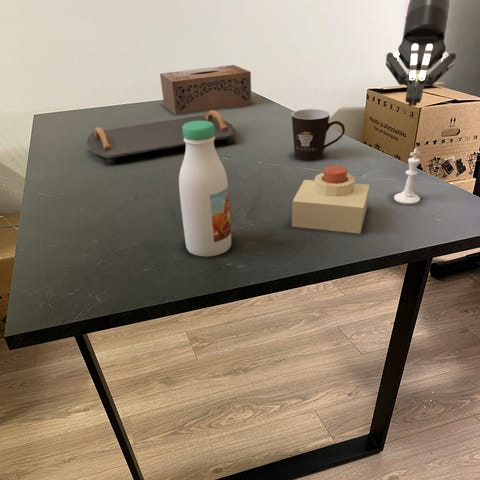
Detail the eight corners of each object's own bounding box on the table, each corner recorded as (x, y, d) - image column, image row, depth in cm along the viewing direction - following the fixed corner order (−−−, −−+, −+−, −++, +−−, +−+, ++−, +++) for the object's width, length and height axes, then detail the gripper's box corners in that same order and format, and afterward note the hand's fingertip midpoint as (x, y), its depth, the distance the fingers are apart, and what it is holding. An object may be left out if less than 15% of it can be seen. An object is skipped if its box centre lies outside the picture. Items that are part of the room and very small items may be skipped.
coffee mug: (282, 158, 113) (283, 114, 107) (306, 149, 117) (308, 107, 111) (320, 170, 106) (323, 123, 100) (344, 160, 110) (348, 115, 104)
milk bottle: (199, 263, 75) (186, 135, 63) (178, 244, 81) (162, 123, 68) (240, 249, 78) (235, 124, 66) (217, 232, 84) (208, 113, 71)
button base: (366, 210, 88) (371, 174, 84) (360, 235, 81) (365, 197, 76) (303, 204, 92) (305, 169, 87) (291, 228, 84) (292, 190, 80)
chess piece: (388, 198, 92) (396, 146, 86) (409, 194, 93) (419, 143, 87) (402, 208, 89) (412, 154, 82) (425, 203, 90) (436, 151, 84)
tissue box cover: (235, 96, 165) (233, 64, 159) (251, 105, 154) (250, 71, 148) (164, 106, 158) (159, 73, 152) (176, 116, 147) (171, 81, 141)
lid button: (347, 177, 84) (348, 166, 83) (344, 186, 81) (345, 174, 80) (325, 175, 85) (326, 164, 84) (321, 184, 82) (322, 172, 81)
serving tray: (214, 123, 139) (213, 101, 135) (246, 144, 122) (246, 119, 118) (82, 144, 128) (77, 120, 124) (97, 171, 111) (91, 144, 107)
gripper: (391, 3, 88) (377, 90, 86) (468, 2, 84) (454, 92, 83) (389, 33, 95) (375, 113, 93) (459, 32, 91) (446, 116, 90)
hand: (412, 103), depth 88 cm, fingers closed
